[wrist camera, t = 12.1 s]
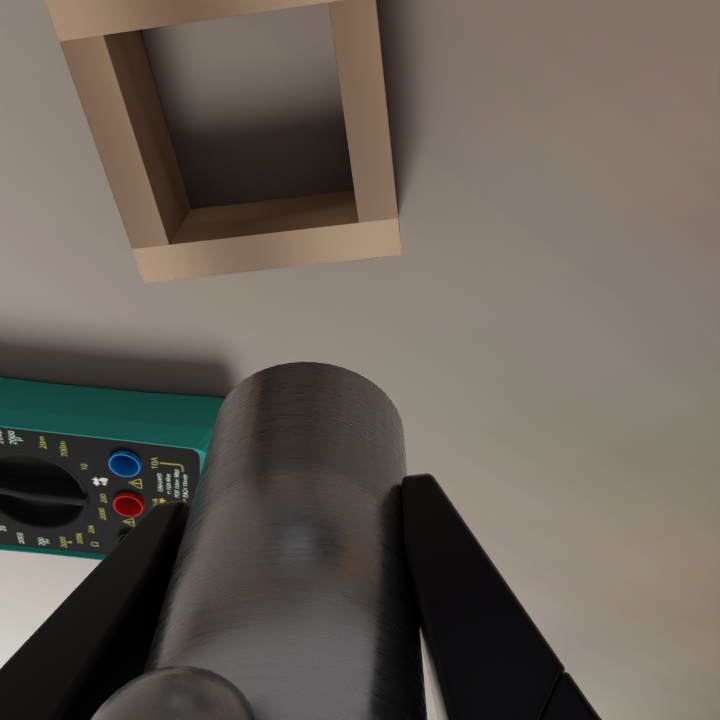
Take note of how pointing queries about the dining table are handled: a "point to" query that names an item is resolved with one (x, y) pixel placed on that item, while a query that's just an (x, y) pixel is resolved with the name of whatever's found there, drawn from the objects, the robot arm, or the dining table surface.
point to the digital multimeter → (93, 462)
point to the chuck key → (290, 565)
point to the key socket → (160, 167)
